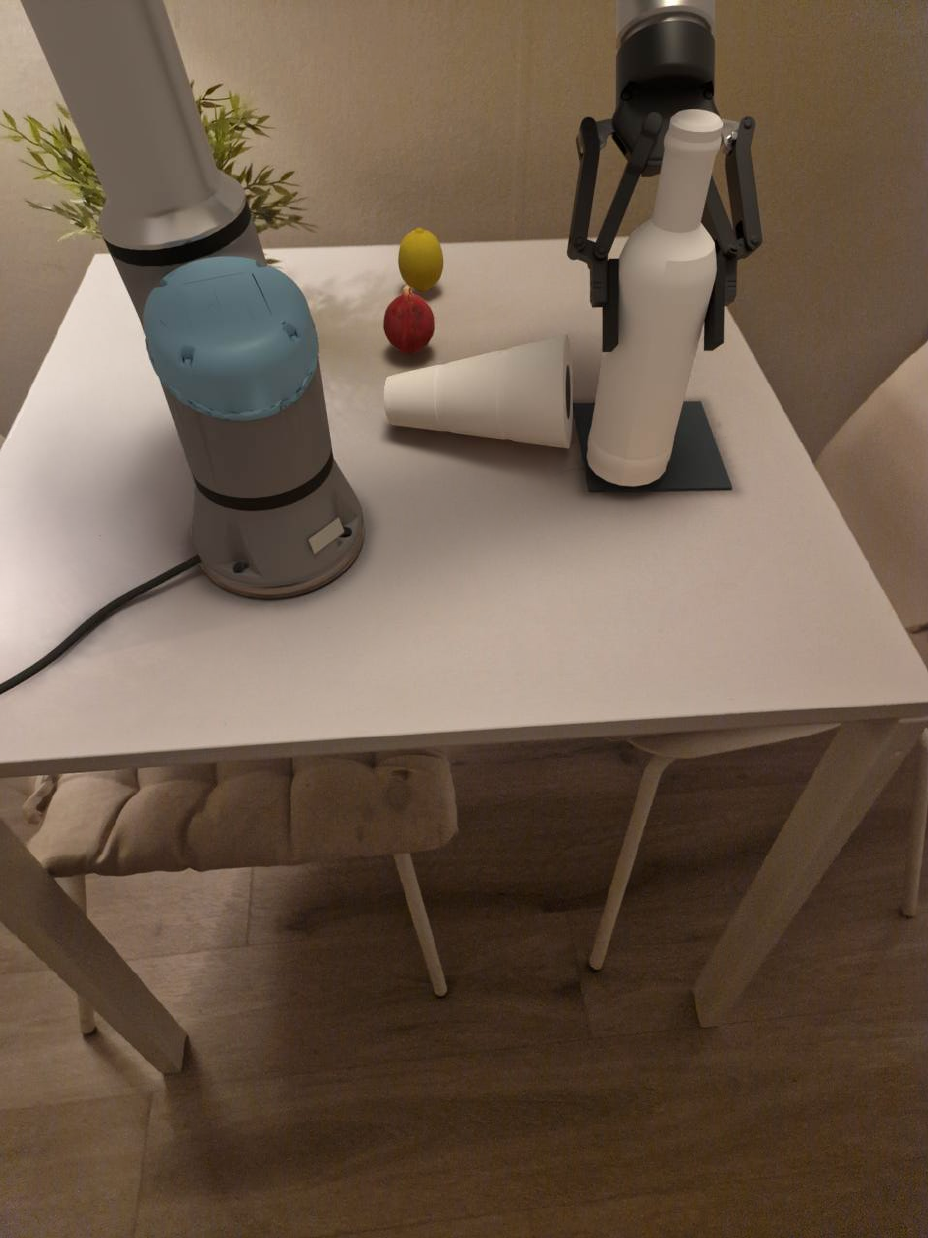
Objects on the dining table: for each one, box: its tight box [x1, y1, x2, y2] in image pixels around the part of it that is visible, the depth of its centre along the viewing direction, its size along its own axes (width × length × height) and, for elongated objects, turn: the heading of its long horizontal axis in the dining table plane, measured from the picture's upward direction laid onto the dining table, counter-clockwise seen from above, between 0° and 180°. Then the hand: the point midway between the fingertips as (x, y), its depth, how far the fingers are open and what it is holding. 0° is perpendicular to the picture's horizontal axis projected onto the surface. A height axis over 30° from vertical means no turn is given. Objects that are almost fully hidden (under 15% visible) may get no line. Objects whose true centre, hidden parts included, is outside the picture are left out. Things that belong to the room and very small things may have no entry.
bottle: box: [587, 109, 723, 486], centre depth 66 cm, size 8×8×30 cm
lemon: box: [397, 227, 444, 294], centre depth 98 cm, size 6×6×8 cm
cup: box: [383, 333, 574, 449], centre depth 79 cm, size 11×11×18 cm
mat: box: [573, 400, 733, 493], centre depth 82 cm, size 14×14×1 cm
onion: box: [382, 284, 436, 355], centre depth 89 cm, size 6×6×8 cm
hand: (661, 347), depth 64 cm, fingers closed on bottle, 8 cm apart
